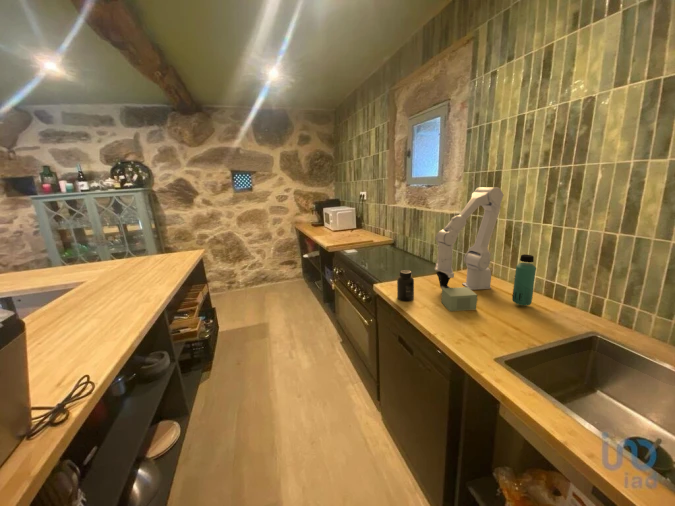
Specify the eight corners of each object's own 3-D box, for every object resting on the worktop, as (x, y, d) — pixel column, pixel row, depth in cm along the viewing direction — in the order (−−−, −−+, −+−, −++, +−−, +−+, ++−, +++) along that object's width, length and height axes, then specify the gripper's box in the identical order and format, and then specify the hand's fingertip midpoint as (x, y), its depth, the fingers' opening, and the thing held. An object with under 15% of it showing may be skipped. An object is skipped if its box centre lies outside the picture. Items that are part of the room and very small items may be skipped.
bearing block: (465, 300, 112) (466, 286, 111) (476, 309, 105) (477, 294, 103) (441, 302, 112) (442, 288, 111) (449, 311, 104) (450, 296, 103)
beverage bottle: (532, 304, 106) (539, 254, 101) (529, 311, 102) (536, 258, 97) (513, 300, 111) (519, 252, 106) (509, 306, 106) (515, 255, 101)
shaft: (439, 292, 121) (439, 282, 120) (449, 292, 121) (450, 282, 120) (454, 307, 107) (454, 296, 106) (465, 306, 107) (466, 295, 106)
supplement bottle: (414, 295, 120) (415, 269, 117) (413, 302, 113) (413, 274, 110) (398, 294, 122) (398, 268, 119) (396, 300, 116) (396, 273, 113)
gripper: (429, 254, 125) (428, 282, 129) (442, 263, 111) (440, 294, 115) (445, 253, 125) (443, 281, 129) (459, 262, 111) (457, 293, 115)
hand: (443, 287), depth 122 cm, fingers closed
